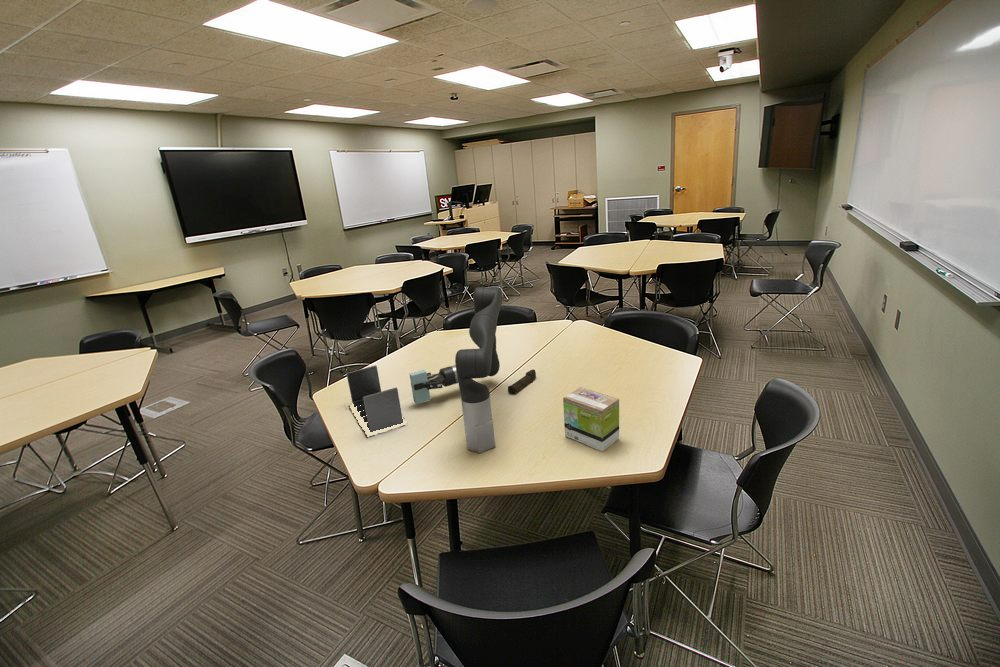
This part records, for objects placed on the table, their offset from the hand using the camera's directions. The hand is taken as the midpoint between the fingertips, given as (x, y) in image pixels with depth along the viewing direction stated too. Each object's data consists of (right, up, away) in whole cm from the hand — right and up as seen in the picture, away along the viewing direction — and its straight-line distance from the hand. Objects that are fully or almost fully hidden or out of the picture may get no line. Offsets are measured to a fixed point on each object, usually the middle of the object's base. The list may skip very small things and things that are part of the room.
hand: (412, 386), depth 179 cm
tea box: (+64, -14, -30) cm, 72 cm away
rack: (-14, -11, -2) cm, 18 cm away
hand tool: (+44, -2, +14) cm, 46 cm away
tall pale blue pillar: (+3, -6, +3) cm, 8 cm away
